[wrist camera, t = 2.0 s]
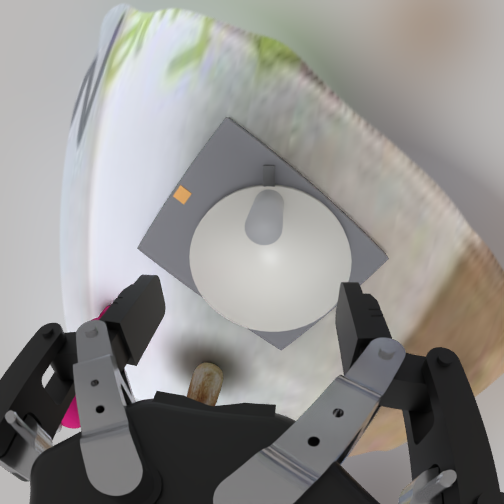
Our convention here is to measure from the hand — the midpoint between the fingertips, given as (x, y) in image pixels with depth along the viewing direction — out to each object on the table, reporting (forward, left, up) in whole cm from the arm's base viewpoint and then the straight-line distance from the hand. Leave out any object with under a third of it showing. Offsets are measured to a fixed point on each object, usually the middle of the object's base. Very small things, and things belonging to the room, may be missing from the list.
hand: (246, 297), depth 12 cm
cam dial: (-4, +4, -16) cm, 17 cm away
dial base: (-3, +5, -17) cm, 18 cm away
